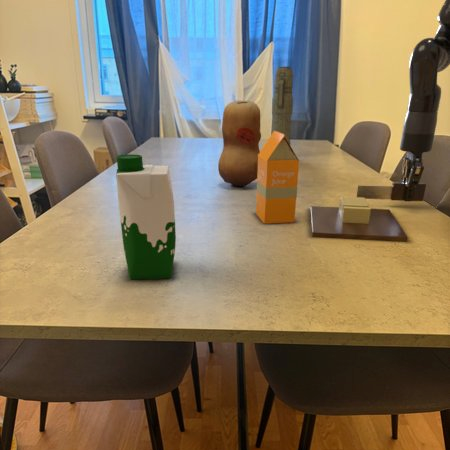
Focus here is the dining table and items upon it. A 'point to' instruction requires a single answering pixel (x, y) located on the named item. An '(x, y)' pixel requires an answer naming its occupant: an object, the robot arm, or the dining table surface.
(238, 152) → the butternut squash
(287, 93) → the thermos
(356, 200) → the butter block
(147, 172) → the milk carton
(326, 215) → the board
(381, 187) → the knife
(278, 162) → the orange juice
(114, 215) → the dining table surface
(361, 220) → the butter slice
